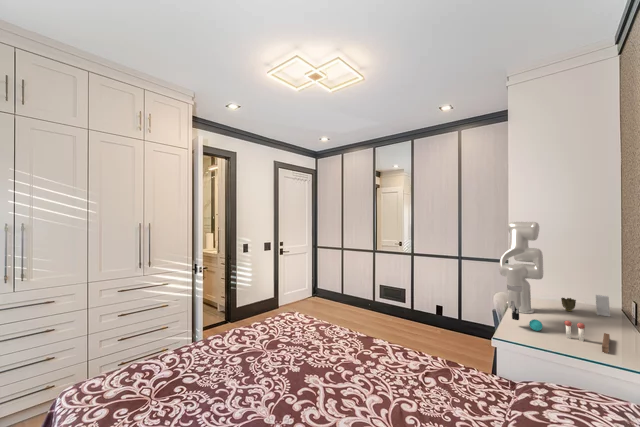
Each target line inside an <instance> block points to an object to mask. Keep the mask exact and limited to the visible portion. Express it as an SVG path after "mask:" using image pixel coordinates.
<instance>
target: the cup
mask: <svg viewBox="0 0 640 427" xmlns="http://www.w3.org/2000/svg"><path fill="white" fill-rule="evenodd" d="M560 300H561V305H562V307H563V308H564V310H565V311H566V312H570V313H571V312H573V310H574V309H575V307H576V303H577V300H576V299H574V298H571V297H567V298H565V297H561V298H560Z"/></svg>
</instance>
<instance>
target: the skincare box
mask: <svg viewBox="0 0 640 427" xmlns="http://www.w3.org/2000/svg"><path fill="white" fill-rule="evenodd" d="M609 298H610V297H609V295H601V294H595V305H596V306H595V307H596V315H597V316H602V317H611V310H610V299H609Z"/></svg>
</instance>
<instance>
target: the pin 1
mask: <svg viewBox="0 0 640 427" xmlns="http://www.w3.org/2000/svg"><path fill="white" fill-rule="evenodd" d="M564 325H565V337H566V338H567V339H572V325H573V323H572V321H570V320H565V321H564Z"/></svg>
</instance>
